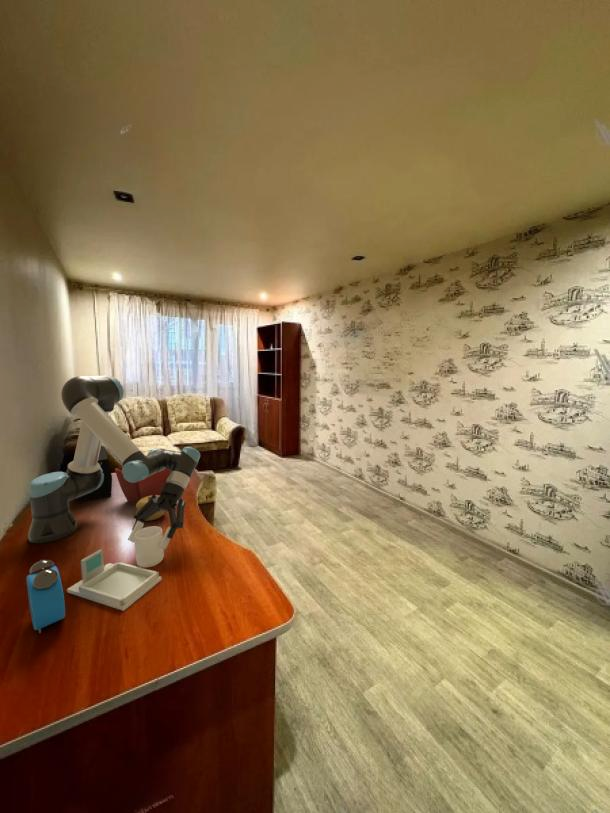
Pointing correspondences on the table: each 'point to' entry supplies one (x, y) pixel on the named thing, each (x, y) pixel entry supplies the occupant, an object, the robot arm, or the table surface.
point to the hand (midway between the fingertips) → (146, 544)
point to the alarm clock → (45, 594)
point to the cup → (149, 546)
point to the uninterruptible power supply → (106, 486)
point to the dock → (113, 582)
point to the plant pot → (142, 485)
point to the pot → (143, 502)
